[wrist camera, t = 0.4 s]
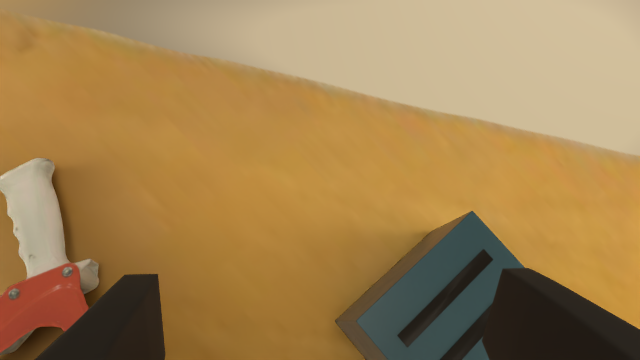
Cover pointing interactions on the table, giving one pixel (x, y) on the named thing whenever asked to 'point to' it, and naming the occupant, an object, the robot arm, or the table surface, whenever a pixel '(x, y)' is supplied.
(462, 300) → the toaster
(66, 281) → the red grey lobed slab
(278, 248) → the table surface
